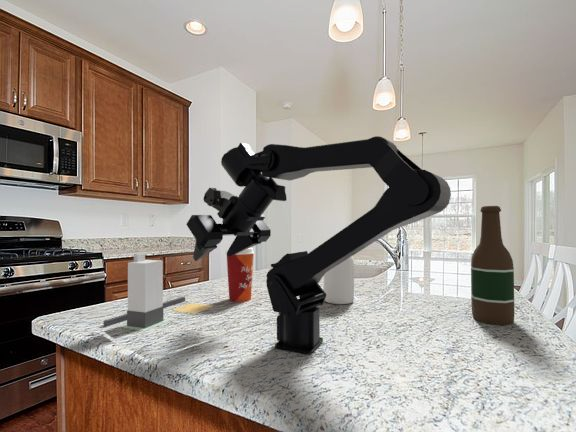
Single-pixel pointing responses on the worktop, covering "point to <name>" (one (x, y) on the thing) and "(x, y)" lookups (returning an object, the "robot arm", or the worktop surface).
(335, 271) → the pill bottle
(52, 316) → the worktop surface
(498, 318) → the beer bottle
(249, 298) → the paper cup
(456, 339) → the worktop surface
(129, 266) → the plug
